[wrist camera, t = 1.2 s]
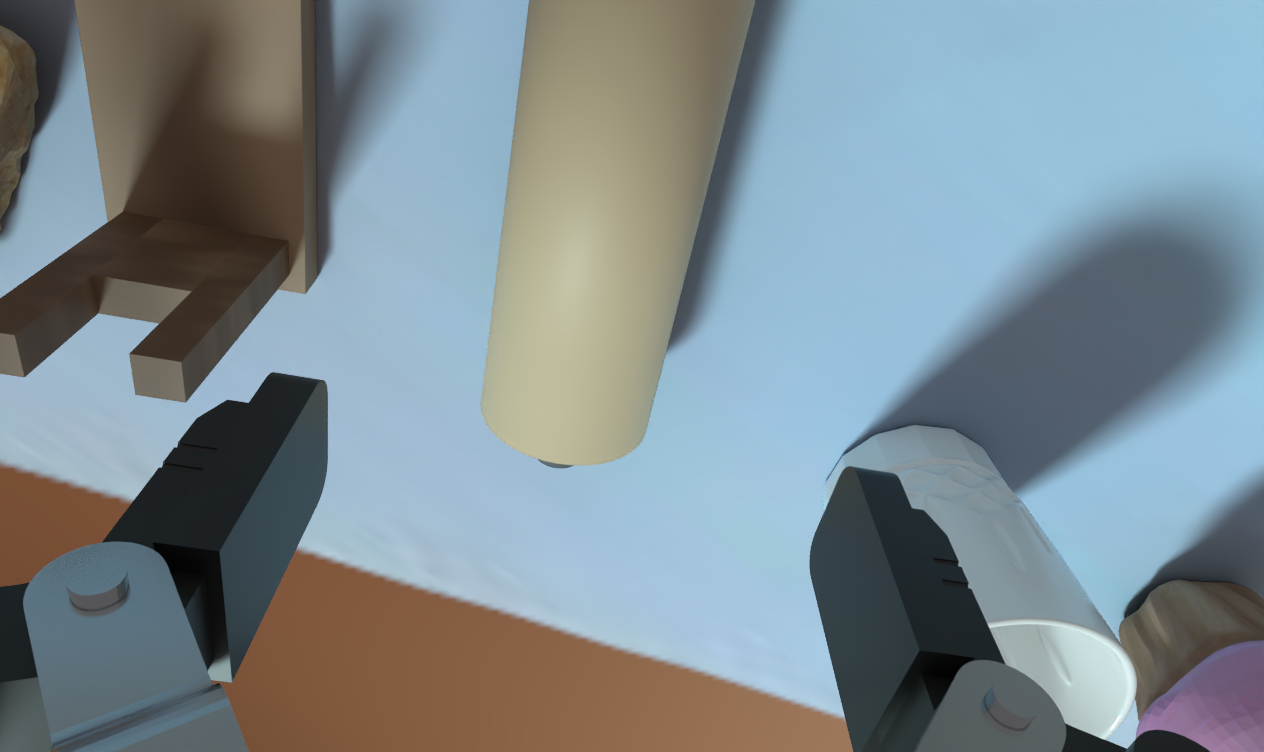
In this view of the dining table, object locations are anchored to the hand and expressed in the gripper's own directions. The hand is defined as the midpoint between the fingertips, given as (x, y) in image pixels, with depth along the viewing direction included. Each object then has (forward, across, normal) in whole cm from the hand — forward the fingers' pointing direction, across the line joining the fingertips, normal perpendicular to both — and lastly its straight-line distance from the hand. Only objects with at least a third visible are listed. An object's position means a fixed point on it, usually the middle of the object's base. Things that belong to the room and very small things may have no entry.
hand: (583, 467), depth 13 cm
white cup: (+16, -14, +11) cm, 24 cm away
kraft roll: (+16, 0, 0) cm, 16 cm away
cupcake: (+15, -28, +15) cm, 35 cm away
